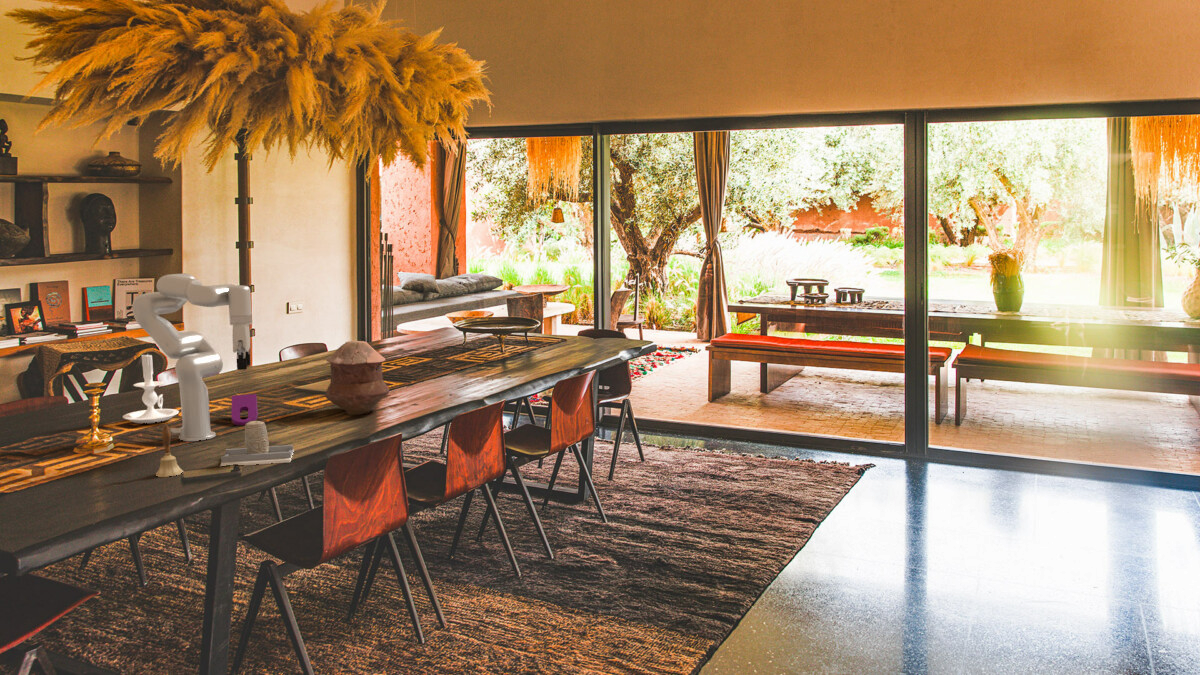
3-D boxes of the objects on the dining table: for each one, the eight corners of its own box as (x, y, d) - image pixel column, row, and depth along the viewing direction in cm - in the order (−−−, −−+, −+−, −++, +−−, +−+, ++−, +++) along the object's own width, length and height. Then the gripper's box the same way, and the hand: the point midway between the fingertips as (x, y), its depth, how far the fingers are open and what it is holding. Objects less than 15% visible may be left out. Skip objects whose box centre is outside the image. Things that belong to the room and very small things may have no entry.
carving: (245, 455, 320) (243, 421, 318) (268, 453, 323) (266, 419, 321) (246, 460, 314) (244, 425, 312) (270, 457, 317) (268, 422, 316)
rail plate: (220, 467, 309) (220, 458, 309) (227, 456, 323) (226, 448, 323) (290, 462, 314) (289, 453, 314) (293, 451, 328) (293, 443, 328)
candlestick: (189, 413, 394) (184, 347, 390) (170, 426, 370) (165, 356, 366) (137, 415, 391) (132, 349, 388) (115, 428, 367) (109, 358, 363)
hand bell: (149, 476, 300) (145, 427, 298) (169, 469, 307) (166, 422, 305) (169, 478, 297) (165, 429, 295) (189, 471, 304) (185, 423, 302)
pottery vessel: (315, 417, 382) (311, 345, 378) (342, 405, 407) (339, 336, 403) (375, 419, 378) (371, 346, 374) (398, 406, 403) (395, 337, 399)
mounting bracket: (257, 437, 375) (257, 410, 389) (256, 421, 371) (256, 394, 385) (232, 439, 372) (233, 412, 386) (230, 422, 368) (231, 395, 382)
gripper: (233, 317, 342) (236, 364, 344) (226, 323, 325) (229, 371, 327) (254, 317, 343) (257, 363, 346) (248, 322, 327) (251, 370, 329)
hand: (243, 367), depth 337 cm, fingers open, 9 cm apart
